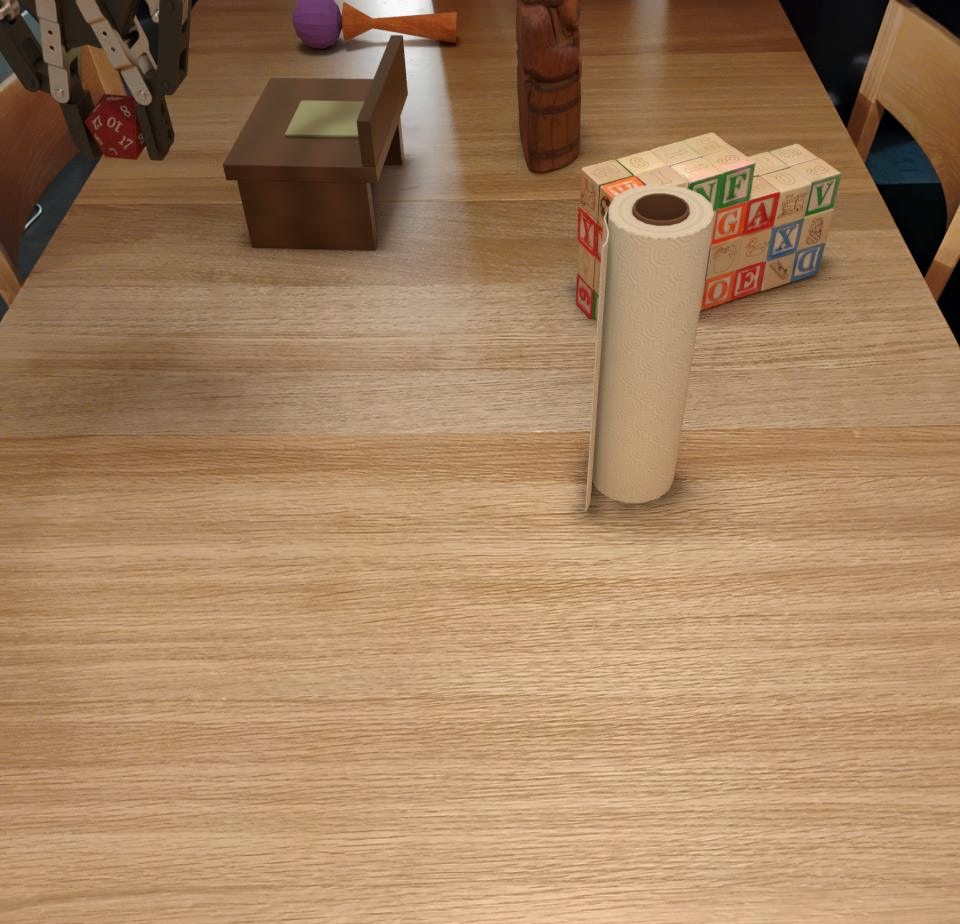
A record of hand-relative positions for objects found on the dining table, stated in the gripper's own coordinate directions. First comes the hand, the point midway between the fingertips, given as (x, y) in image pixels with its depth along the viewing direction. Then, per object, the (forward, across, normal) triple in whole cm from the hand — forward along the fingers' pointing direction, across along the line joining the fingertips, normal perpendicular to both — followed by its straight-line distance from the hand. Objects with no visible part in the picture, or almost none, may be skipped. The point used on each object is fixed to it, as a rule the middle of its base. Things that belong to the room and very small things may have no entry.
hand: (127, 153), depth 68 cm
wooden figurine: (+19, -25, -42) cm, 53 cm away
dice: (0, 0, 0) cm, 0 cm away
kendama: (+19, -2, -68) cm, 71 cm away
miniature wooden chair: (+19, -4, -30) cm, 36 cm away
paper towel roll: (+19, -35, +9) cm, 41 cm away
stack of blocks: (+19, -41, -17) cm, 48 cm away
